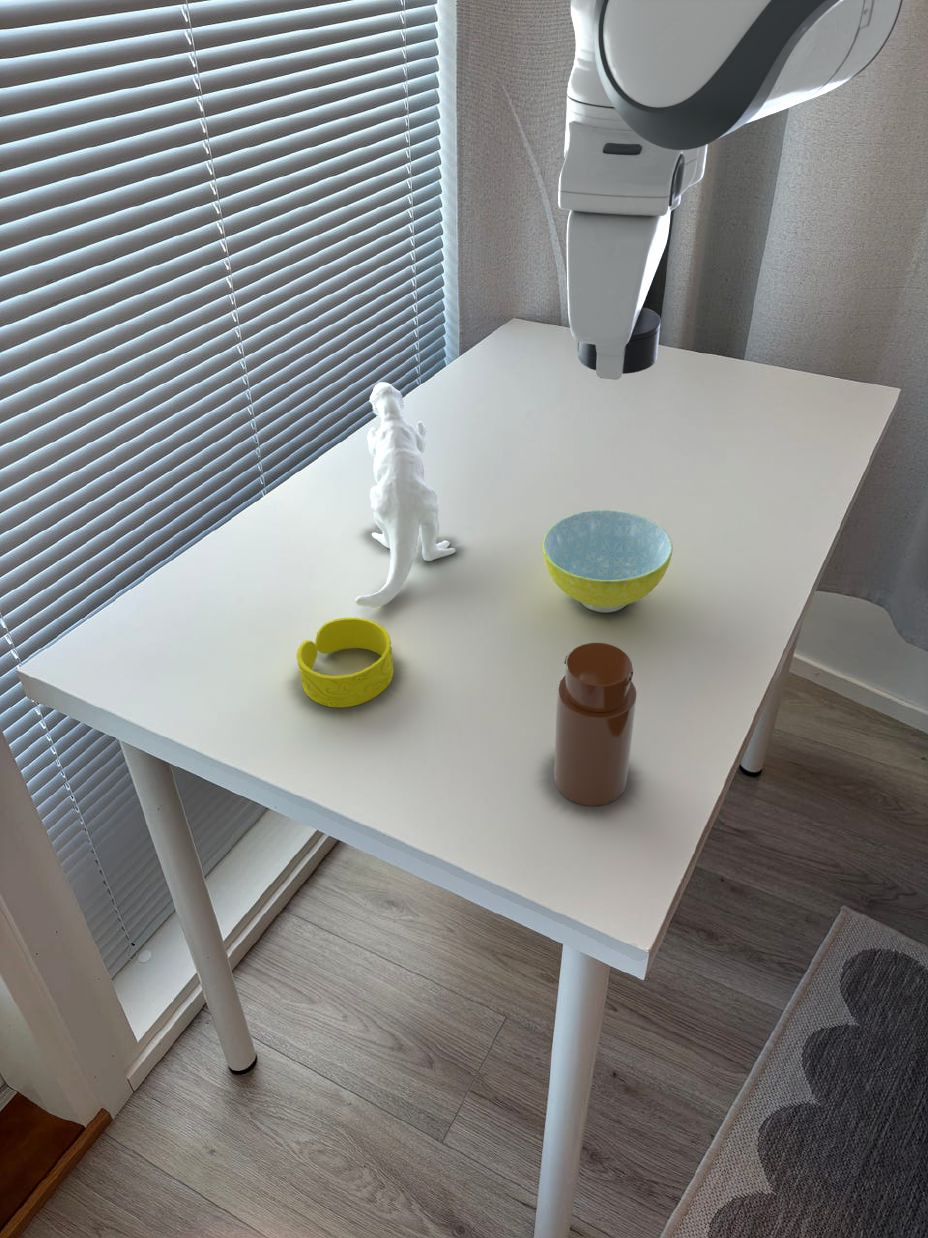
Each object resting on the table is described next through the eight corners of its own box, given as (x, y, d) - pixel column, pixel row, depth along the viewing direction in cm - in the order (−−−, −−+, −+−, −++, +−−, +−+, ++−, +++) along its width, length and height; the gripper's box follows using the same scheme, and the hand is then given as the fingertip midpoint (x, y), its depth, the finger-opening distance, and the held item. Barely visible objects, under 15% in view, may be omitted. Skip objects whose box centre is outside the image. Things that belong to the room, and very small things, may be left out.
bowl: (525, 574, 91) (525, 520, 87) (636, 553, 93) (641, 499, 90) (565, 648, 83) (568, 591, 79) (686, 623, 85) (695, 566, 81)
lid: (570, 369, 67) (571, 332, 65) (584, 337, 71) (586, 300, 69) (651, 377, 66) (655, 339, 64) (661, 343, 70) (665, 306, 68)
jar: (631, 759, 72) (645, 644, 65) (620, 813, 68) (632, 697, 61) (562, 746, 74) (567, 631, 66) (546, 797, 70) (550, 682, 62)
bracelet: (410, 663, 82) (408, 633, 80) (355, 720, 77) (351, 691, 75) (342, 635, 85) (338, 607, 83) (285, 689, 80) (279, 660, 78)
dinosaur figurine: (381, 504, 102) (368, 374, 93) (469, 510, 100) (464, 379, 91) (327, 619, 87) (305, 479, 77) (430, 629, 85) (420, 486, 76)
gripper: (612, 107, 68) (599, 298, 77) (551, 187, 53) (544, 413, 62) (702, 110, 66) (678, 304, 75) (666, 194, 51) (641, 424, 60)
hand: (617, 354), depth 68 cm, fingers closed on lid, 5 cm apart
